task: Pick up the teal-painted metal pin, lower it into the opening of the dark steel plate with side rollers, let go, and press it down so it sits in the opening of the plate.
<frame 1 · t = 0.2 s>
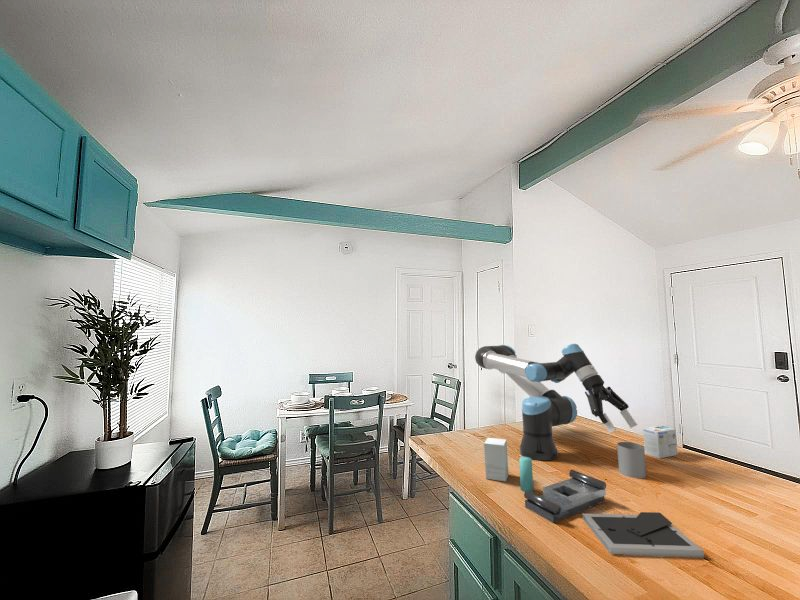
hand: (623, 429, 132), 15 cm above the worktop, tool tilted 35°, fingers open, 13 cm apart
cup: (632, 474, 129), on the worktop
plate with side rollers: (566, 504, 108), on the worktop
supplement box: (497, 477, 129), on the worktop
picture frame: (637, 539, 91), on the worktop
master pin: (526, 489, 118), on the worktop
light bulb box: (661, 455, 148), on the worktop
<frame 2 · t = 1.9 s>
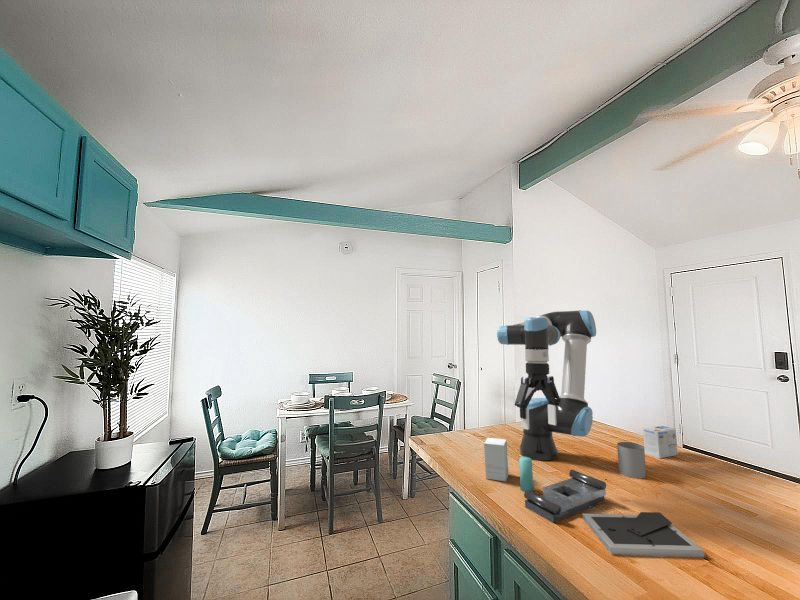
hand: (539, 426, 119), 21 cm above the worktop, tool pointing down, fingers open, 13 cm apart
nothing on the worktop moved.
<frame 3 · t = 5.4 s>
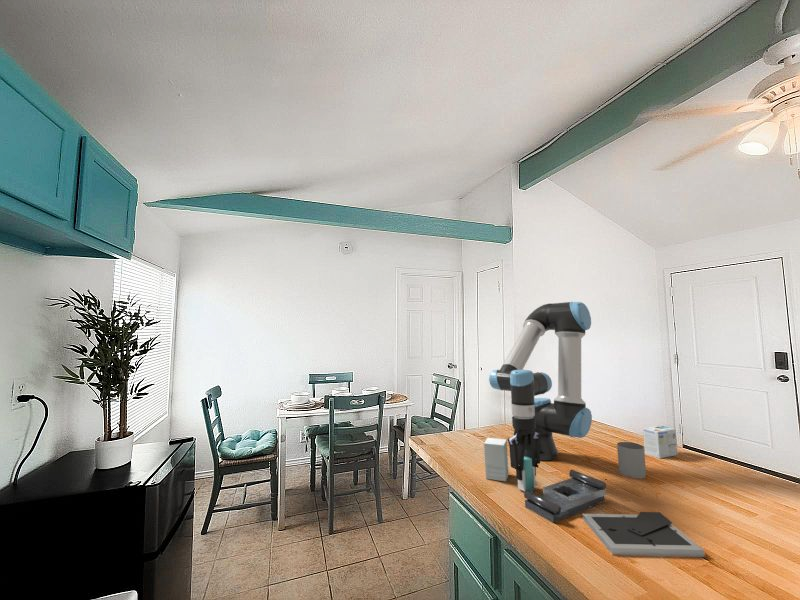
hand: (526, 487, 118), 1 cm above the worktop, tool pointing down, fingers closed on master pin, 4 cm apart
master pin: (527, 489, 118), on the worktop, touching gripper
everything else where it was.
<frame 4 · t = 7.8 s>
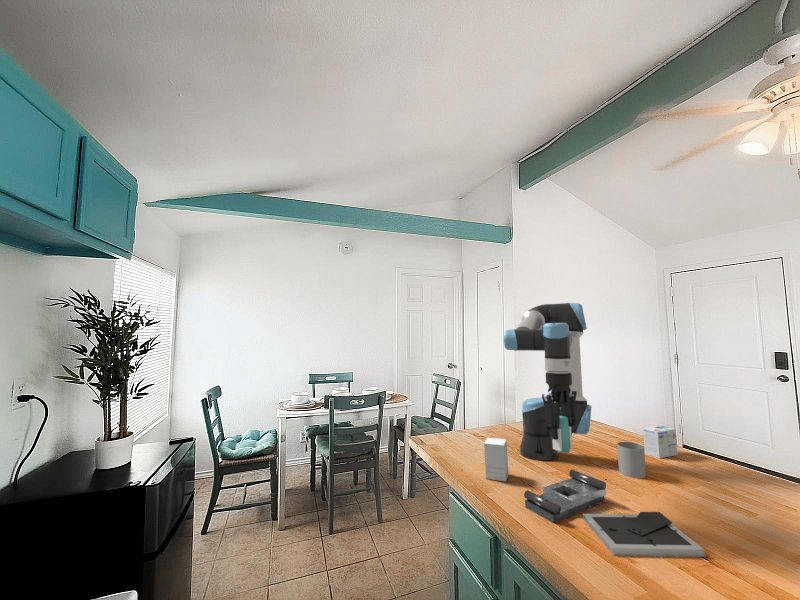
hand: (562, 448, 109), 17 cm above the worktop, tool pointing down, fingers closed on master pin, 4 cm apart
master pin: (562, 450, 109), point 16 cm above the worktop, touching gripper
everything else where it was.
when the fingers open (6 cm above the worktop, at t = 10.6 s): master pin drops 3 cm, resting in plate with side rollers.
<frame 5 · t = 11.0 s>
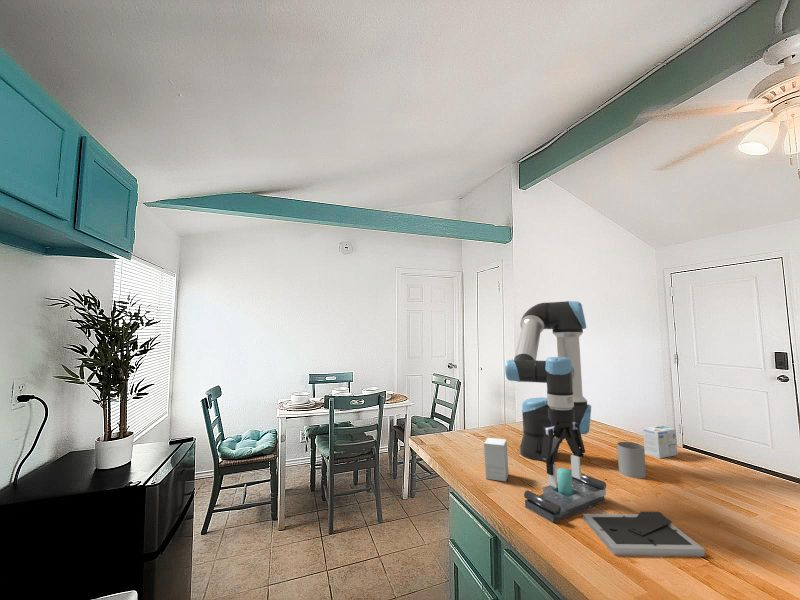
hand: (564, 481, 108), 7 cm above the worktop, tool pointing down, fingers open, 10 cm apart
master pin: (566, 504, 108), resting in plate with side rollers
everything else where it was.
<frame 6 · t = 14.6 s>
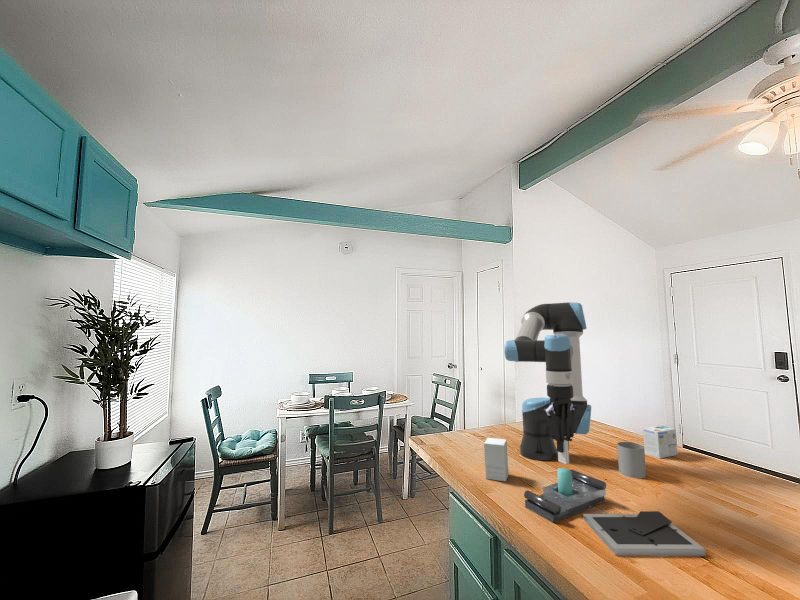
hand: (563, 462, 109), 12 cm above the worktop, tool pointing down, fingers closed
nothing on the worktop moved.
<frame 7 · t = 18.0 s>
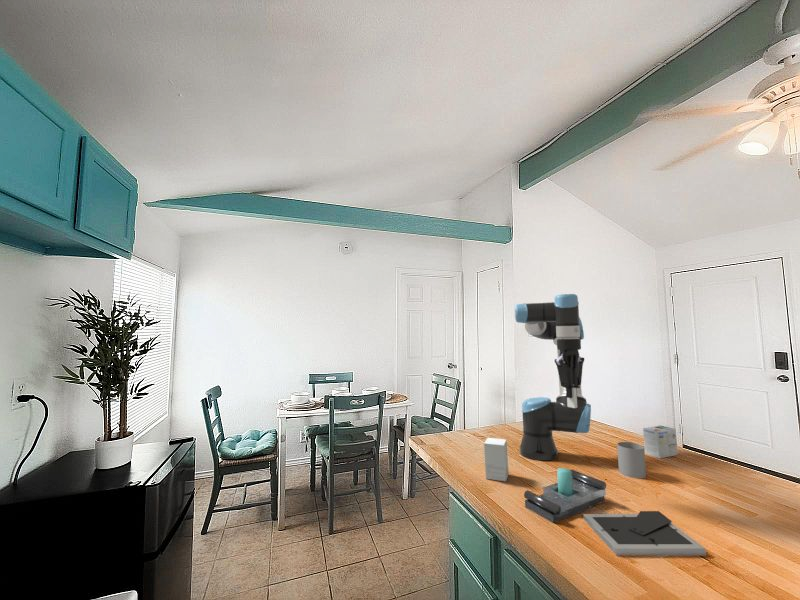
hand: (572, 407, 122), 26 cm above the worktop, tool pointing down, fingers closed
nothing on the worktop moved.
at the end: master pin 0.0 cm off-centre on the plate with side rollers, point 0.0 cm above the plate with side rollers's base; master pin tilted 0°; the gripper is holding nothing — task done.
